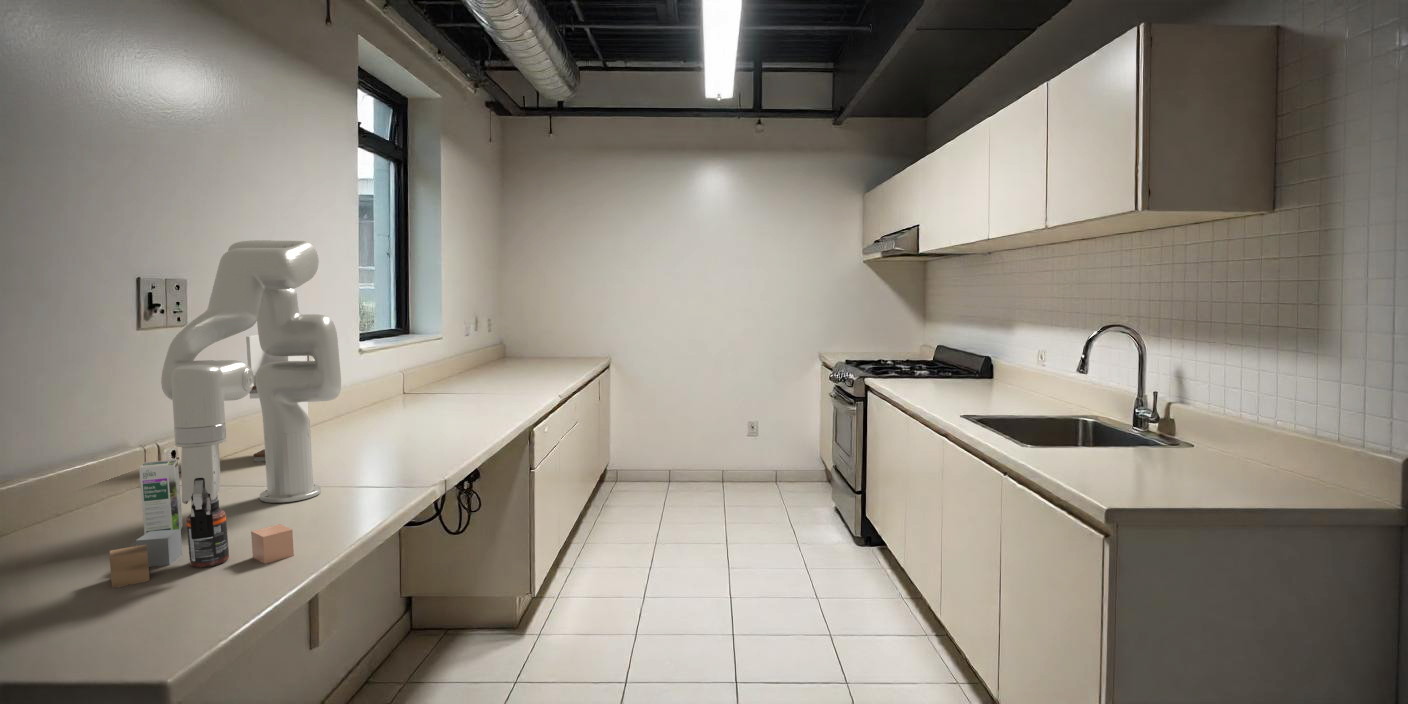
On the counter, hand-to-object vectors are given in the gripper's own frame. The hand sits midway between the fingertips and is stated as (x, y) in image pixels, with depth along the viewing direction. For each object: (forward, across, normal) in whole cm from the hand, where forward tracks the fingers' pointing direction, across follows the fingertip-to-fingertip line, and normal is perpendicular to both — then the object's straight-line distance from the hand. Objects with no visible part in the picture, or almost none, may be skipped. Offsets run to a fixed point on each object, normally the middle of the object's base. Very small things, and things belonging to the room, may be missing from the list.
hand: (206, 530), depth 135 cm
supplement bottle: (+6, -1, 0) cm, 6 cm away
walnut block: (+6, +2, -11) cm, 13 cm away
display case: (+4, -89, +9) cm, 89 cm away
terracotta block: (+6, +1, +10) cm, 12 cm away
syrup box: (+6, -24, -10) cm, 26 cm away
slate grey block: (+6, -6, -8) cm, 11 cm away
